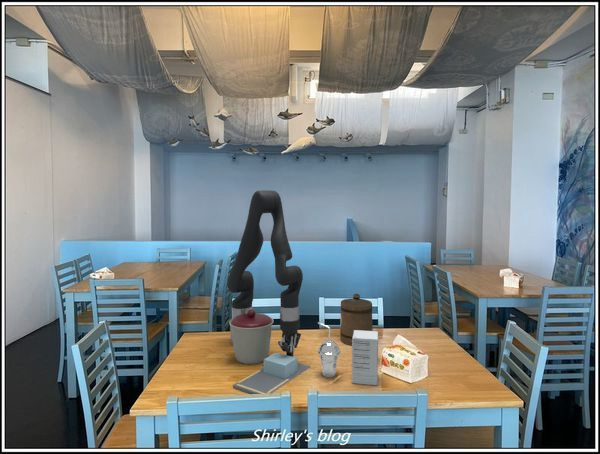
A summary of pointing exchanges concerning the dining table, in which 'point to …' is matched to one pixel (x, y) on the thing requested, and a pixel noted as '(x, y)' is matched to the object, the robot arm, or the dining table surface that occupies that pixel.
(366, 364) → the supplement box
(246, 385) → the display board
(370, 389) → the dining table surface
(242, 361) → the canister
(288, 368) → the carton
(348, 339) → the wooden container
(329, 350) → the cup with straw
